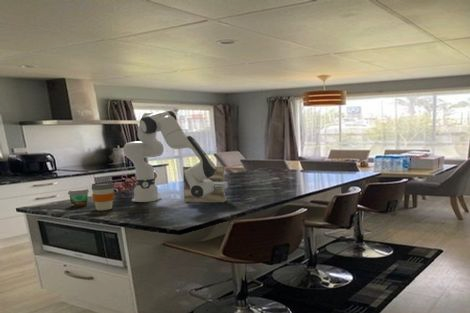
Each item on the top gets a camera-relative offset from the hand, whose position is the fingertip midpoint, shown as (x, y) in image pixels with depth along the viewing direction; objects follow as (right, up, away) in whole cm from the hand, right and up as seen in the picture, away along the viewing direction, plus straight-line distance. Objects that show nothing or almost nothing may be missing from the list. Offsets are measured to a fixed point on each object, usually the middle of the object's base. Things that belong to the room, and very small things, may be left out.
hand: (214, 183), depth 219 cm
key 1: (-15, -3, +6) cm, 16 cm away
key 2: (+1, -2, +3) cm, 4 cm away
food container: (-84, -15, +6) cm, 85 cm away
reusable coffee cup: (-65, -15, -5) cm, 67 cm away
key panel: (-6, -12, +7) cm, 15 cm away
